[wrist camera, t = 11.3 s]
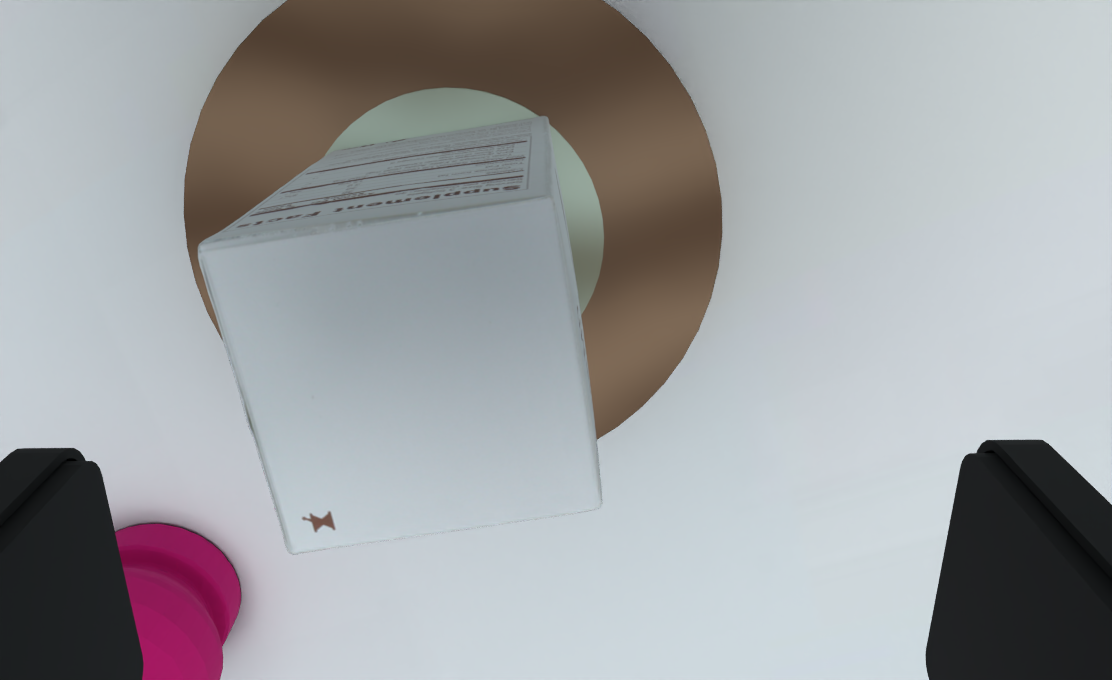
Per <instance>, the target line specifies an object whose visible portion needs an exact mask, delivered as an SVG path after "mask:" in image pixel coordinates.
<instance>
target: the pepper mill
mask: <svg viewBox="0 0 1112 680" xmlns="http://www.w3.org/2000/svg"><path fill="white" fill-rule="evenodd" d="M115 535H116V539H117V544H118V548H119V553H120V557H121V562H122V566H123V571H124V575H125V579H126V584H127V588H128V593H129V597H130V602H131V606H132V610H133V615H134V619H135V624H136V628H137V633H138V637H139V641H140V646H141V650H142V655H143V662H144V667H143V677H142V680H220V677H221V673H222V669H223V652H222V646H223V644H224V642H225V641H226V638H227V636H228V634H229V632H230V630H231V628H232V626H233V624H234V622H235V619H236V617H237V615H238V612H239V608H240V604H241V590H240V585H239V581H238V578H237V576H236V573H235V571H234V569H233V567H232V565H231V564H230V563H229V561H228V560H227V559H226V557H225V556H224V555H223V554H222V552H221V551H220V550H219V549H218V548H216V547H215V546H214V545H213V544H211V543H210V542H209V541H207V540H206V539H204V538H203V537H202V536H199V535H197V534H195V533H192V532H190V531H188V530H185V529H183V528H180V527H174V526H169V525H163V524H144V525H137V526H132V527H128V528H125V529H122V530H119V531H117V532H115Z"/></svg>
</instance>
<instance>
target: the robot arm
mask: <svg viewBox="0 0 1112 680" xmlns="http://www.w3.org/2000/svg"><path fill="white" fill-rule="evenodd" d="M143 667H144V662H143V655H142V650H141V646H140V641H139V637H138V633H137V628H136V624H135V619H134V615H133V610H132V606H131V602H130V597H129V593H128V588H127V584H126V579H125V575H124V571H123V566H122V562H121V557H120V553H119V548H118V544H117V539H116V535H115V531H114V526H113V522H112V517H111V513H110V508H109V504H108V500H107V495H106V491H105V486H104V482H103V477H102V474H101V471H100V468H99V467H98V465H97V464H96V463H94V462H93V461H85V458H84V457H83V455H82V454H81V452H80V451H78V450H76V449H75V448H24V449H16V450H15V451H13V452H11V453H10V454H9V455H8V456H7V457H6V458H4V459H3V460H2V461H1V462H0V680H142V677H143ZM926 667H927V673H928V677H929V680H1112V505H1111V504H1110V503H1109V502H1108V501H1107V500H1106V499H1105V498H1104V497H1103V496H1102V495H1101V494H1100V493H1099V492H1098V491H1097V490H1096V489H1095V488H1094V487H1093V486H1092V485H1091V484H1090V483H1089V482H1088V481H1086V480H1085V479H1084V478H1083V477H1082V476H1081V475H1080V474H1079V473H1078V472H1077V471H1076V470H1075V469H1074V468H1073V467H1072V466H1071V465H1070V464H1069V463H1068V462H1067V461H1066V460H1065V459H1064V458H1063V457H1062V456H1061V455H1060V454H1058V453H1057V452H1056V451H1055V450H1054V449H1053V448H1052V447H1051V446H1050V445H1049V444H1048V443H1046V442H1045V441H1043V440H986V441H985V442H983V443H982V444H981V446H980V447H979V449H978V450H977V453H971V454H968V455H966V456H965V457H964V459H963V461H962V464H961V467H960V472H959V477H958V483H957V488H956V493H955V499H954V504H953V509H952V514H951V520H950V525H949V530H948V536H947V541H946V546H945V552H944V557H943V562H942V568H941V573H940V578H939V584H938V589H937V594H936V599H935V605H934V610H933V615H932V621H931V626H930V631H929V637H928V642H927V647H926Z"/></svg>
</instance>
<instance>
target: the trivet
mask: <svg viewBox="0 0 1112 680" xmlns="http://www.w3.org/2000/svg"><path fill="white" fill-rule="evenodd" d="M540 116H546V117H548V119H549V125H550V131H551V138H552V144H553V150H554V155H555V161H556V166H557V172H558V177H559V182H560V188H561V193H562V198H563V204H564V209H565V215H566V221H567V227H568V233H569V239H570V245H571V251H572V257H573V264H574V270H575V277H576V283H577V289H578V296H579V303H580V311H581V318H582V325H583V332H584V340H585V347H586V355H587V362H588V370H589V378H590V387H591V395H592V403H593V412H594V420H595V429H596V439H599V438H600V437H602V436H603V435H605V434H607V433H608V432H610V431H611V430H613V429H615V428H616V427H618V426H619V425H620V424H621V423H623V422H624V421H625V420H626V419H628V418H629V417H630V416H631V415H632V414H634V413H635V412H636V411H637V410H639V409H640V408H641V407H642V406H643V405H644V404H645V403H646V402H647V401H648V400H649V399H650V398H651V397H652V396H653V395H654V394H655V393H656V392H657V390H658V389H659V388H660V387H661V386H662V385H663V384H664V383H665V382H666V380H667V379H668V378H669V376H670V375H671V374H672V372H673V371H674V369H675V368H676V367H677V365H678V364H679V363H680V361H681V360H682V359H683V357H684V355H685V353H686V352H687V350H688V348H689V346H690V344H691V343H692V341H693V339H694V337H695V335H696V333H697V332H698V330H699V327H700V325H701V322H702V320H703V317H704V315H705V312H706V310H707V307H708V305H709V302H710V299H711V296H712V292H713V287H714V283H715V279H716V275H717V271H718V267H719V259H720V249H721V240H722V202H721V193H720V187H719V181H718V174H717V168H716V163H715V160H714V156H713V153H712V150H711V147H710V143H709V140H708V137H707V133H706V130H705V128H704V126H703V123H702V121H701V119H700V117H699V115H698V113H697V110H696V108H695V106H694V104H693V102H692V99H691V97H690V96H689V94H688V92H687V91H686V89H685V88H684V86H683V85H682V83H681V81H680V80H679V78H678V77H677V75H676V73H675V72H674V70H673V69H672V67H671V66H670V64H669V63H668V62H667V61H666V60H665V58H664V57H663V56H662V55H661V54H660V52H659V51H658V50H657V49H656V48H655V47H654V45H653V44H652V43H651V42H650V41H649V39H648V38H647V37H646V36H645V35H644V34H643V33H642V32H640V31H639V30H638V29H637V28H636V27H635V26H634V25H633V24H632V23H631V22H629V21H628V20H627V19H626V18H625V17H624V16H623V15H622V14H621V13H620V12H618V11H617V10H616V9H614V8H613V7H611V6H610V5H608V4H607V3H605V2H604V1H602V0H287V1H286V2H285V3H283V4H282V5H281V6H280V7H278V8H277V9H276V10H275V11H274V12H272V13H271V14H270V15H269V16H267V17H266V18H265V19H264V20H262V22H261V23H260V24H259V25H258V26H257V27H256V28H255V29H254V30H253V31H252V32H251V33H250V35H249V36H248V37H247V38H246V39H245V40H244V41H243V42H242V43H241V44H240V45H239V47H238V48H237V49H236V51H235V52H234V54H233V55H232V56H231V58H230V59H229V61H228V62H227V64H226V65H225V67H224V68H223V70H222V71H221V73H220V74H219V76H218V77H217V79H216V81H215V83H214V85H213V87H212V89H211V91H210V93H209V95H208V97H207V99H206V102H205V104H204V106H203V108H202V110H201V113H200V116H199V119H198V122H197V125H196V129H195V132H194V135H193V138H192V141H191V144H190V150H189V156H188V162H187V168H186V174H185V187H184V220H185V230H186V239H187V248H188V252H189V256H190V260H191V264H192V269H193V273H194V277H195V281H196V284H197V286H198V289H199V291H200V294H201V297H202V299H203V302H204V304H205V307H206V310H207V312H208V314H209V316H210V318H211V320H212V322H213V324H214V325H215V327H216V329H217V331H218V333H219V335H220V337H221V338H222V335H221V332H220V328H219V325H218V322H217V318H216V315H215V312H214V309H213V306H212V303H211V300H210V297H209V294H208V291H207V287H206V284H205V280H204V277H203V273H202V271H201V268H200V265H199V260H198V246H199V244H200V243H201V242H202V241H204V240H205V239H207V238H209V237H211V236H213V235H214V234H216V233H218V232H220V231H222V230H223V229H225V228H226V227H227V226H229V225H230V224H232V223H233V222H235V221H236V220H237V219H239V218H240V217H242V216H243V215H244V214H246V213H247V212H248V211H250V210H251V209H252V208H254V207H255V206H256V205H258V204H259V203H261V202H262V201H263V200H265V199H266V198H267V197H269V196H270V195H272V194H273V193H274V192H275V191H277V190H278V189H279V188H281V187H282V186H284V185H285V184H287V183H288V182H289V181H290V180H292V179H293V178H294V177H296V176H297V175H299V174H300V173H301V172H303V171H304V170H305V169H307V168H308V167H309V166H311V165H313V164H314V163H316V162H318V161H319V160H320V159H322V158H323V157H325V156H326V155H328V154H329V153H331V152H332V151H336V150H341V149H347V148H353V147H359V146H365V145H371V144H377V143H383V142H389V141H395V140H402V139H408V138H414V137H420V136H426V135H433V134H439V133H445V132H451V131H458V130H464V129H470V128H476V127H482V126H488V125H494V124H500V123H506V122H512V121H518V120H524V119H530V118H535V117H540ZM222 340H223V338H222ZM223 342H224V341H223Z"/></svg>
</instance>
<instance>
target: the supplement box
mask: <svg viewBox="0 0 1112 680" xmlns="http://www.w3.org/2000/svg"><path fill="white" fill-rule="evenodd" d="M198 260H199V265H200V268H201V271H202V273H203V277H204V280H205V284H206V287H207V291H208V294H209V297H210V300H211V303H212V306H213V309H214V312H215V315H216V318H217V322H218V325H219V328H220V332H221V335H222V338H223V341H224V345H225V348H226V351H227V355H228V358H229V361H230V364H231V367H232V370H233V374H234V377H235V380H236V383H237V387H238V390H239V394H240V397H241V401H242V405H243V409H244V413H245V416H246V420H247V423H248V427H249V429H250V431H251V434H252V436H253V439H254V442H255V445H256V448H257V452H258V455H259V458H260V462H261V465H262V468H263V471H264V474H265V477H266V481H267V484H268V487H269V490H270V494H271V497H272V500H273V504H274V507H275V510H276V513H277V517H278V520H279V523H280V526H281V530H282V533H283V538H284V542H285V546H286V548H287V551H288V552H289V553H291V554H292V555H295V554H301V553H307V552H313V551H319V550H325V549H332V548H339V547H347V546H354V545H361V544H368V543H375V542H382V541H389V540H396V539H403V538H410V537H417V536H425V535H432V534H438V533H444V532H452V531H459V530H466V529H473V528H480V527H487V526H494V525H501V524H507V523H514V522H521V521H528V520H537V519H542V518H550V517H557V516H563V515H570V514H576V513H581V512H586V511H591V510H596V509H599V508H600V507H601V506H602V491H601V480H600V469H599V459H598V448H597V439H596V429H595V420H594V412H593V403H592V395H591V387H590V378H589V370H588V362H587V355H586V347H585V340H584V332H583V325H582V318H581V311H580V303H579V296H578V289H577V283H576V277H575V270H574V264H573V257H572V251H571V245H570V239H569V233H568V227H567V221H566V215H565V209H564V204H563V198H562V193H561V188H560V182H559V177H558V172H557V166H556V161H555V155H554V150H553V144H552V138H551V131H550V125H549V119H548V117H546V116H540V117H535V118H530V119H524V120H518V121H512V122H506V123H500V124H494V125H488V126H482V127H476V128H470V129H464V130H458V131H451V132H445V133H439V134H433V135H426V136H420V137H414V138H408V139H402V140H395V141H389V142H383V143H377V144H371V145H365V146H359V147H353V148H347V149H341V150H336V151H332V152H331V153H329V154H328V155H326V156H325V157H323V158H322V159H320V160H319V161H318V162H316V163H314V164H313V165H311V166H309V167H308V168H307V169H305V170H304V171H303V172H301V173H300V174H299V175H297V176H296V177H294V178H293V179H292V180H290V181H289V182H288V183H287V184H285V185H284V186H282V187H281V188H279V189H278V190H277V191H275V192H274V193H273V194H272V195H270V196H269V197H267V198H266V199H265V200H263V201H262V202H261V203H259V204H258V205H256V206H255V207H254V208H252V209H251V210H250V211H248V212H247V213H246V214H244V215H243V216H242V217H240V218H239V219H237V220H236V221H235V222H233V223H232V224H230V225H229V226H227V227H226V228H225V229H223V230H222V231H220V232H218V233H216V234H214V235H213V236H211V237H209V238H207V239H205V240H204V241H202V242H201V243H200V244H199V246H198Z"/></svg>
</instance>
